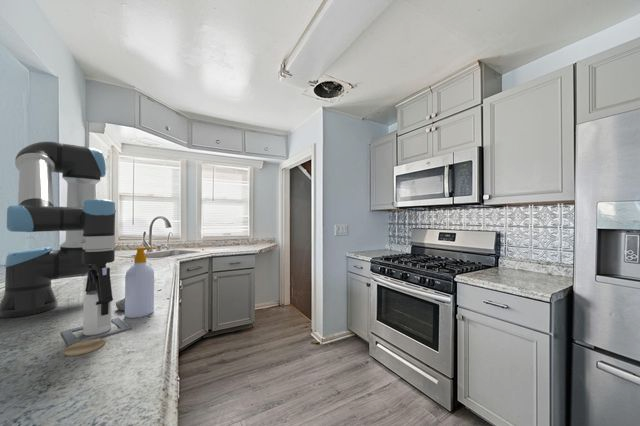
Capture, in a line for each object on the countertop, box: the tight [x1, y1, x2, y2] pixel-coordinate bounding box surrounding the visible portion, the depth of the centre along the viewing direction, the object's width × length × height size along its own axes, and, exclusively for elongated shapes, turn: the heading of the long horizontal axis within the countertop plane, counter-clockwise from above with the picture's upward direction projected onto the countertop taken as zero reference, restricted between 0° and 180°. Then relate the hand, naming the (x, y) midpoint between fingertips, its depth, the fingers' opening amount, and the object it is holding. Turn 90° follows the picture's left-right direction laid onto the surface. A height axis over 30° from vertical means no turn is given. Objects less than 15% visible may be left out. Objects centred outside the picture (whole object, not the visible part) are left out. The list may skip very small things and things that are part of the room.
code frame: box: [60, 317, 133, 347], centre depth 79 cm, size 14×14×1 cm
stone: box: [115, 297, 125, 312], centre depth 100 cm, size 10×8×6 cm
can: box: [82, 290, 113, 337], centre depth 78 cm, size 6×6×12 cm
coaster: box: [63, 338, 106, 357], centre depth 68 cm, size 8×8×1 cm
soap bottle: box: [124, 246, 157, 319], centre depth 94 cm, size 9×9×24 cm
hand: (97, 320), depth 78 cm, fingers open, 13 cm apart
